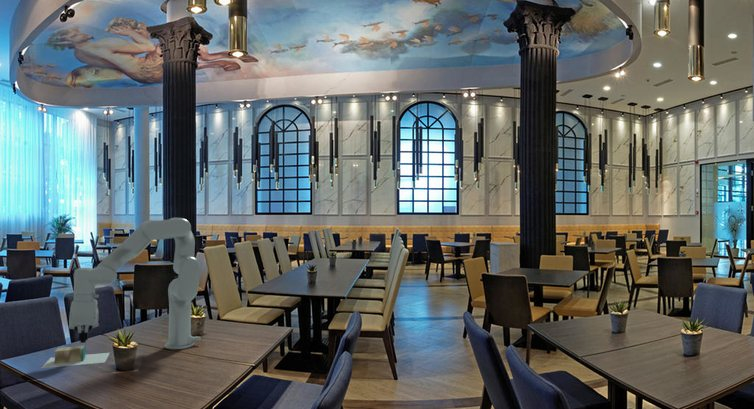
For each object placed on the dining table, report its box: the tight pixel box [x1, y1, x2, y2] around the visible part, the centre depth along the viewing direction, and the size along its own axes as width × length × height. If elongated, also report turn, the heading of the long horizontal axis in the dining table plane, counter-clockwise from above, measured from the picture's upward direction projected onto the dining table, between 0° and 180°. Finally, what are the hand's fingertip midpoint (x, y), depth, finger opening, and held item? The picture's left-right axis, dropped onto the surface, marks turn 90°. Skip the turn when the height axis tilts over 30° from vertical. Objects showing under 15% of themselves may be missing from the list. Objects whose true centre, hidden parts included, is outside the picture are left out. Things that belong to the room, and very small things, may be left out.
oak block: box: [54, 345, 87, 364], centre depth 198 cm, size 5×5×10 cm
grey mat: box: [41, 352, 110, 369], centre depth 199 cm, size 22×14×1 cm, turn 112°
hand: (83, 341), depth 199 cm, fingers closed
